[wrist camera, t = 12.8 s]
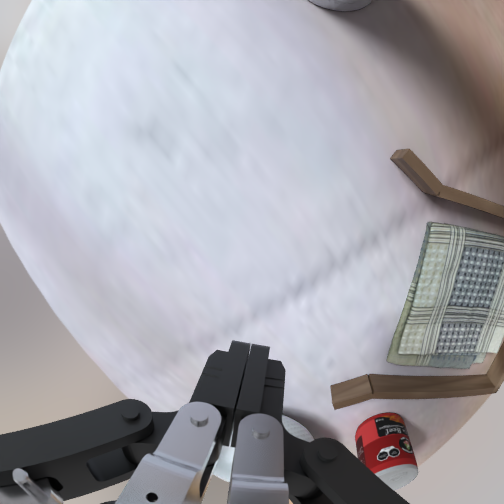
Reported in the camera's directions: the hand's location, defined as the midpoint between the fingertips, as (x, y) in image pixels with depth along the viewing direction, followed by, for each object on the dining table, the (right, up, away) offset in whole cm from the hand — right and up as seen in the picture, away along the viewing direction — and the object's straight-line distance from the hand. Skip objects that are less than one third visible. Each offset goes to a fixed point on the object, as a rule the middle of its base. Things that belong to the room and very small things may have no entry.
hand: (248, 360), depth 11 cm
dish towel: (+27, -2, +18) cm, 32 cm away
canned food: (+20, -23, +25) cm, 39 cm away
